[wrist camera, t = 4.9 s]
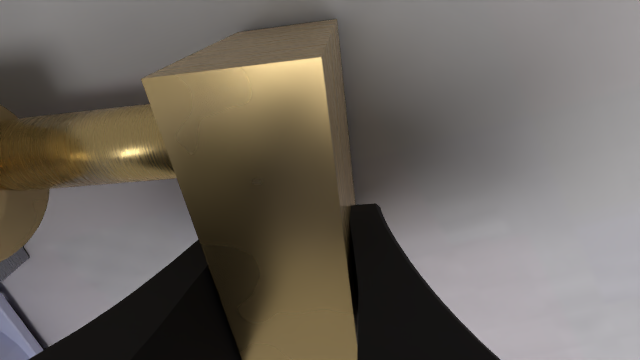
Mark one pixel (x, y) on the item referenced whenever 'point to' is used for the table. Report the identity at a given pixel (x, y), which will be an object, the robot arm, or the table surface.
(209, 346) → the robot arm
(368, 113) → the table surface
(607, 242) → the table surface
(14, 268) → the bore block
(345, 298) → the plunger with bar handle
